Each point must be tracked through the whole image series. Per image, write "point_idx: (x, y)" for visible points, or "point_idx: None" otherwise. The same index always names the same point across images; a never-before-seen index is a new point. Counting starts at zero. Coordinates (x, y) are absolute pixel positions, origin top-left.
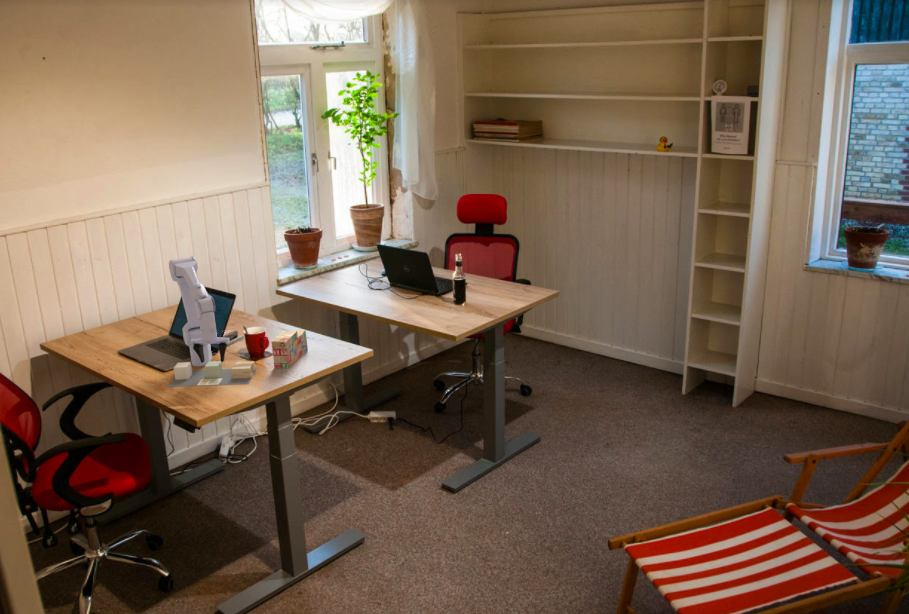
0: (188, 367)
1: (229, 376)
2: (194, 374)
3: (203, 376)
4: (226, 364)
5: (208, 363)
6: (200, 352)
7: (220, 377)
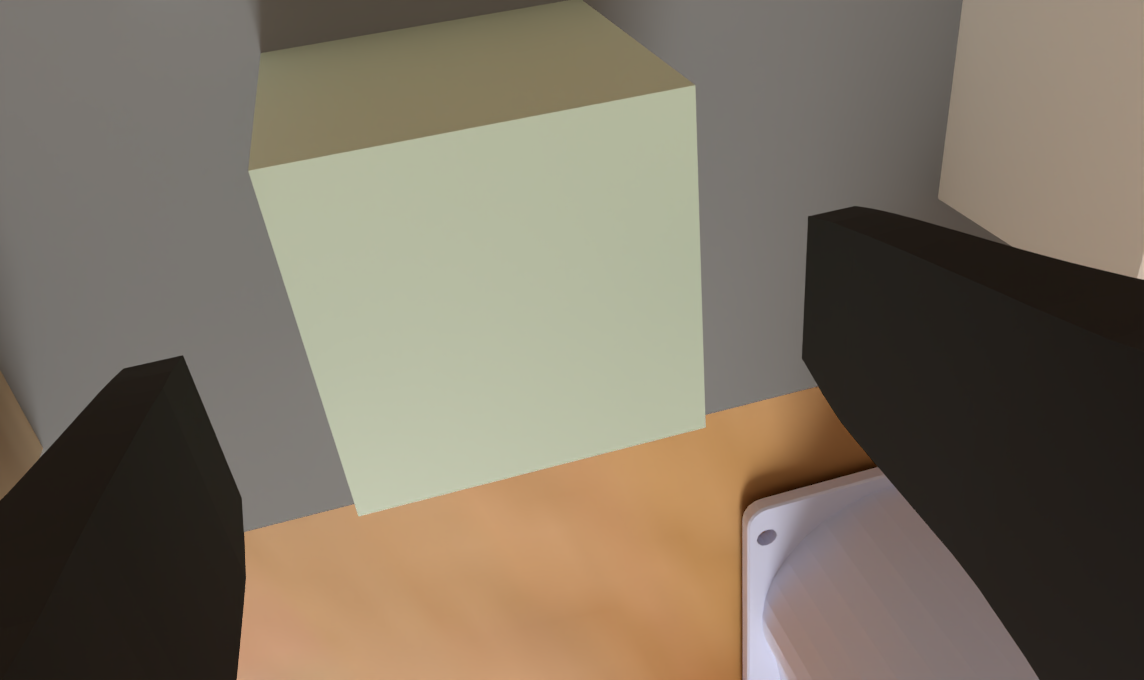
0: (1125, 109)
1: (43, 172)
2: (896, 183)
3: None
4: (509, 656)
5: (662, 316)
6: (1132, 385)
7: (253, 89)
